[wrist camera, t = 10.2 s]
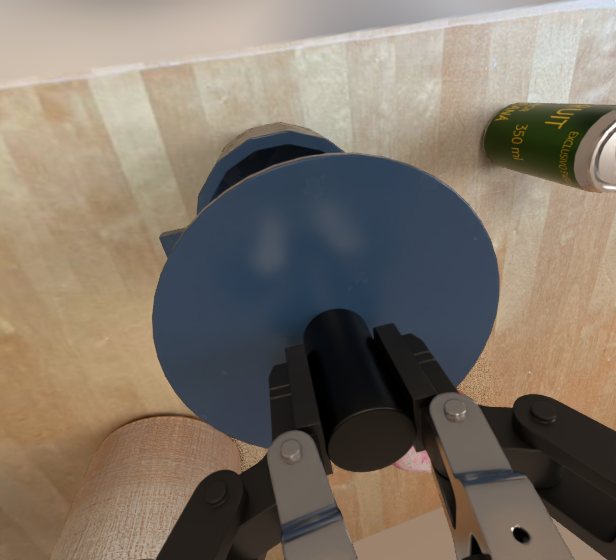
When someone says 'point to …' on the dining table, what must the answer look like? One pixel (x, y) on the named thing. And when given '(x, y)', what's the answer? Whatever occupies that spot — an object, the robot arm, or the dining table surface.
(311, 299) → the lid
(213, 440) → the planter
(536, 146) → the beer can
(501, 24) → the dining table surface
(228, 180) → the blue cooking pot
